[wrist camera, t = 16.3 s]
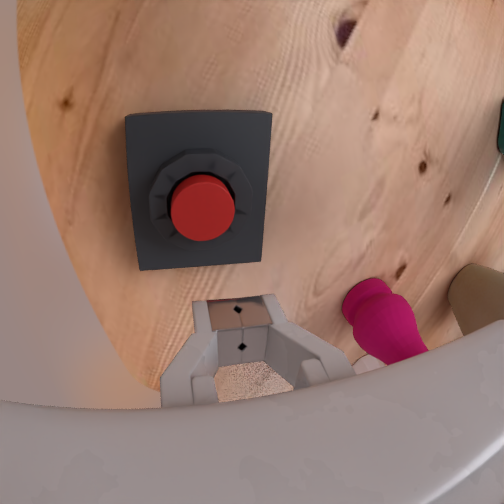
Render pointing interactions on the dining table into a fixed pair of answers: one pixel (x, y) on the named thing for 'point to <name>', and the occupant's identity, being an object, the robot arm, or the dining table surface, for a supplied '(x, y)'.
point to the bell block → (190, 164)
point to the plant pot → (477, 297)
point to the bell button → (202, 208)
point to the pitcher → (501, 133)
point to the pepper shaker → (367, 364)
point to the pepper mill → (382, 322)
